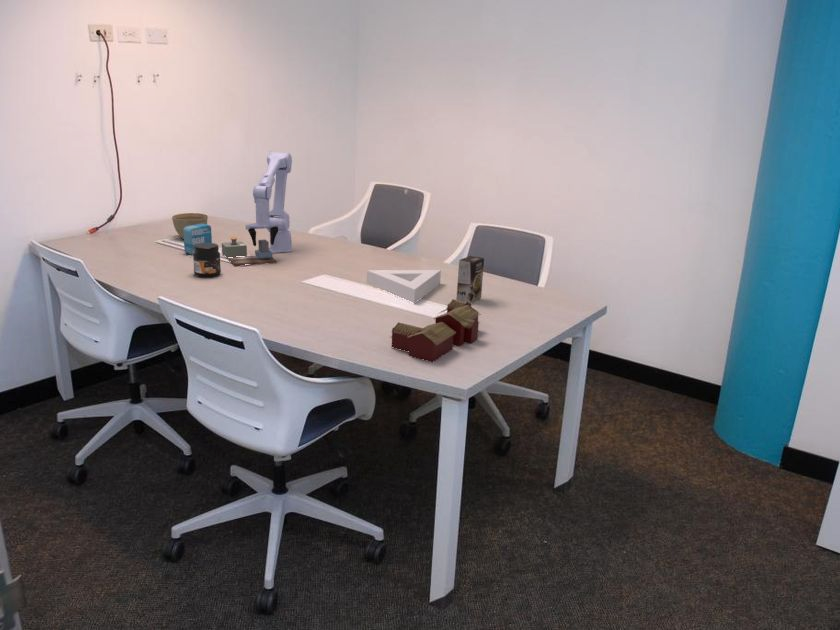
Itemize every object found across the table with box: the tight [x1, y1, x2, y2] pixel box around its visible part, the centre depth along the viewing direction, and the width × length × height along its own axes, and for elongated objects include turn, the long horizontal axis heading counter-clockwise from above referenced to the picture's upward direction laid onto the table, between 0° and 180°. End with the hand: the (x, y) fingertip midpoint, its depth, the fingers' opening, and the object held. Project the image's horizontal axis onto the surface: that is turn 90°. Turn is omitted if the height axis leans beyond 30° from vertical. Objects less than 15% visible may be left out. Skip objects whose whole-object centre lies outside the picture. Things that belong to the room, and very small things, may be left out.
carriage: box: [254, 239, 274, 259], centre depth 321 cm, size 6×6×7 cm
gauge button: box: [230, 236, 238, 245], centre depth 327 cm, size 3×3×5 cm
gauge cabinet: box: [221, 240, 248, 258], centre depth 328 cm, size 9×8×5 cm
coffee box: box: [455, 255, 485, 304], centre depth 280 cm, size 9×6×16 cm
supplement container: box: [192, 242, 222, 278], centre depth 297 cm, size 10×10×12 cm
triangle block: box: [366, 269, 442, 304], centre depth 291 cm, size 30×26×6 cm
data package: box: [183, 224, 213, 256], centre depth 329 cm, size 12×4×12 cm, turn 147°
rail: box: [228, 255, 277, 267], centre depth 320 cm, size 18×10×2 cm, turn 118°
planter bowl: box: [171, 212, 209, 240], centre depth 352 cm, size 16×16×11 cm
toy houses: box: [389, 299, 482, 363], centre depth 244 cm, size 45×20×10 cm, turn 151°
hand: (263, 245), depth 320 cm, fingers open, 7 cm apart
